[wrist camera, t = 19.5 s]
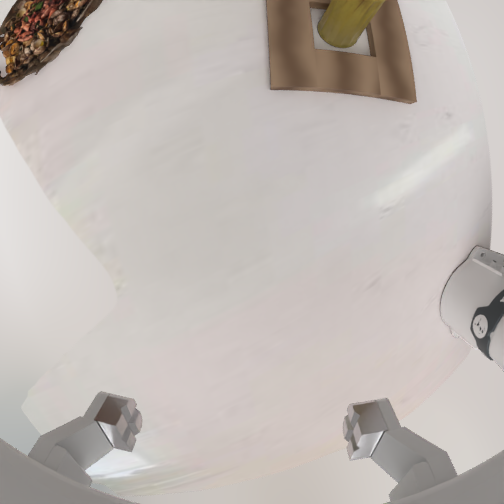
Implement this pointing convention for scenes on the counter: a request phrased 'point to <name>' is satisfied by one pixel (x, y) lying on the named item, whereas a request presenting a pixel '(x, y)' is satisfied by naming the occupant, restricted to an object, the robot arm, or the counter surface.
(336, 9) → the vase
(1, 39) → the food dish
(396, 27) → the socket
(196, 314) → the counter surface
